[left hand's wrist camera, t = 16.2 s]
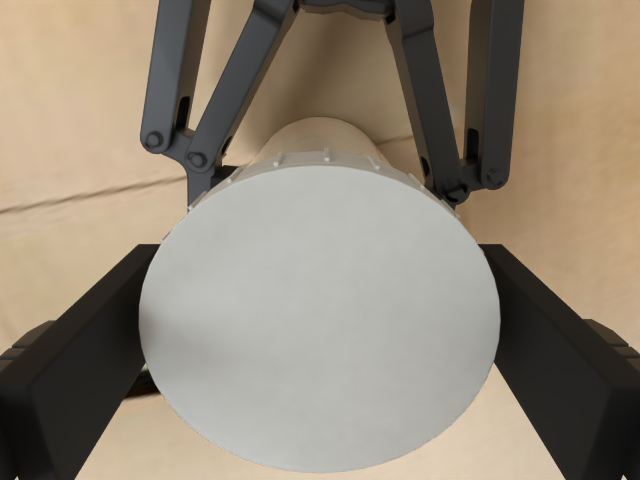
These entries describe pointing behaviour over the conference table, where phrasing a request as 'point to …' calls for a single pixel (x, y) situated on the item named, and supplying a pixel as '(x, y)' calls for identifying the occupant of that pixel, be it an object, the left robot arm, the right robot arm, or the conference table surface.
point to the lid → (319, 314)
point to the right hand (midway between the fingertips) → (310, 304)
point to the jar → (319, 139)
